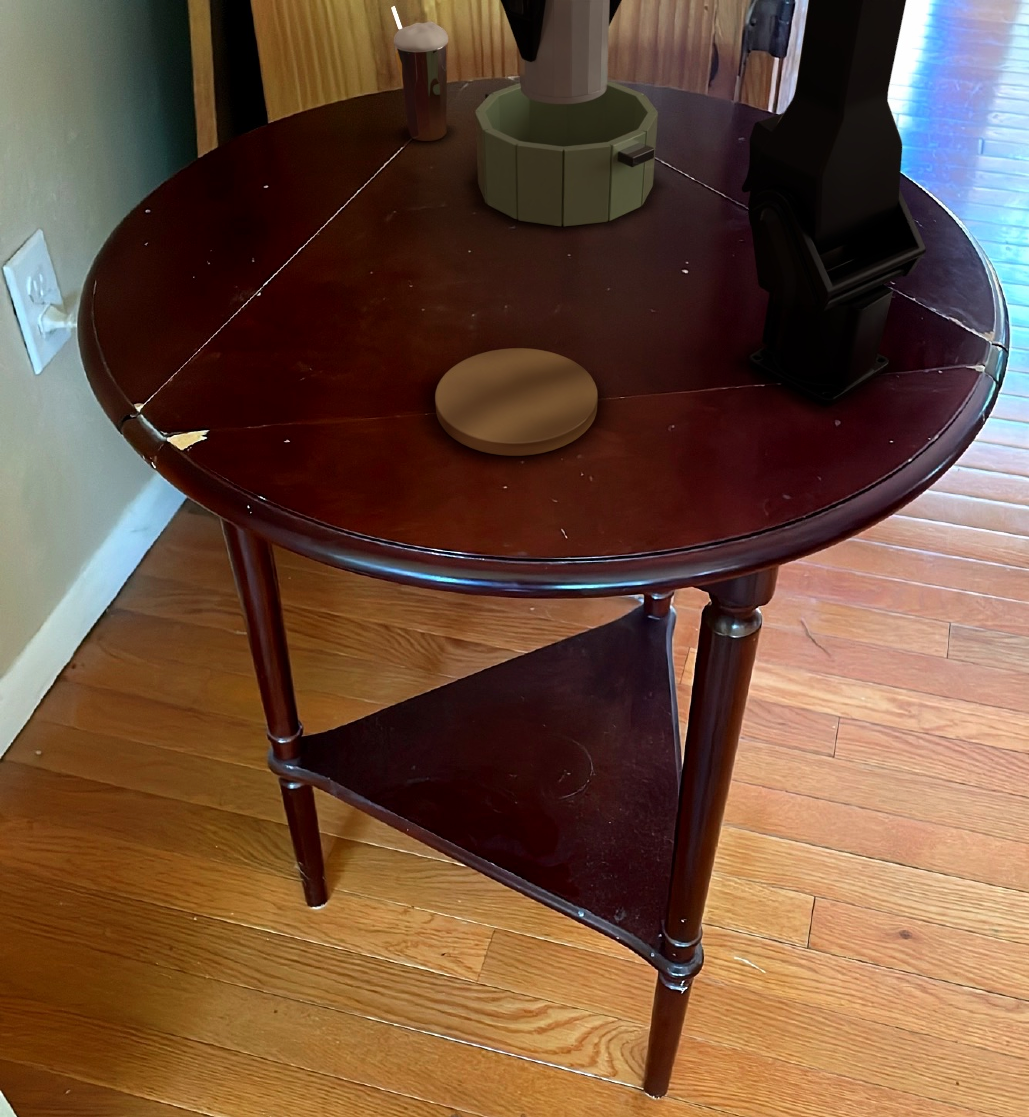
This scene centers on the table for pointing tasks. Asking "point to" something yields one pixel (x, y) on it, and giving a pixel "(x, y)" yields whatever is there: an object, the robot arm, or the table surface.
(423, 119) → the milkshake
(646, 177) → the big pot
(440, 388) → the disc
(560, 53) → the small pot
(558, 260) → the table surface
